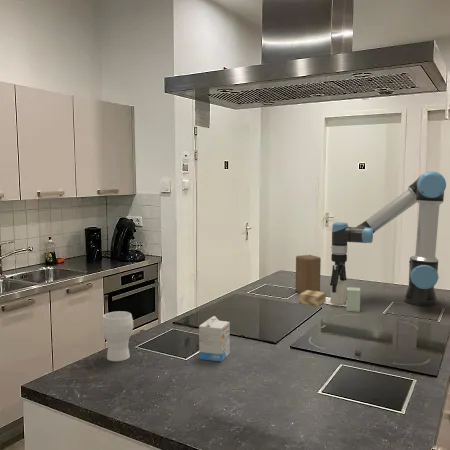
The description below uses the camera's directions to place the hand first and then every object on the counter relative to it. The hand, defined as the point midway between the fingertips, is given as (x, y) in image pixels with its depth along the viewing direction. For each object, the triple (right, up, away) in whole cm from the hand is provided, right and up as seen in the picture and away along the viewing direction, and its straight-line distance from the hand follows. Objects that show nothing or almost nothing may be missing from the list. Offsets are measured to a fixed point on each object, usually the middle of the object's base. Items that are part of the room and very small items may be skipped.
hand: (338, 295), depth 232 cm
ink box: (-60, -10, -71) cm, 94 cm away
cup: (-94, -11, -72) cm, 119 cm away
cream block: (0, -3, 0) cm, 3 cm away
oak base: (-13, -3, 0) cm, 13 cm away
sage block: (+4, -4, -13) cm, 15 cm away
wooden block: (-12, -1, +20) cm, 23 cm away
